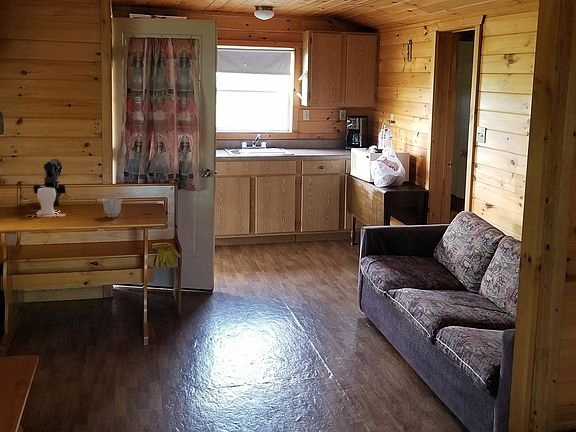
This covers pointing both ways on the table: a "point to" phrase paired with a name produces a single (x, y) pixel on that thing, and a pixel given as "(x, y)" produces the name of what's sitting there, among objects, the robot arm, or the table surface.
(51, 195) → the white vase
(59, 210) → the t mat
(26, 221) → the table surface
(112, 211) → the teacup
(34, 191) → the robot arm
